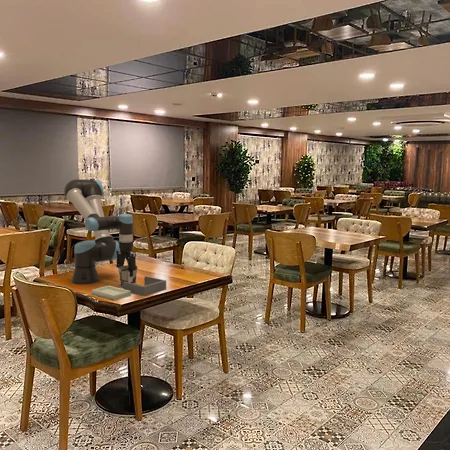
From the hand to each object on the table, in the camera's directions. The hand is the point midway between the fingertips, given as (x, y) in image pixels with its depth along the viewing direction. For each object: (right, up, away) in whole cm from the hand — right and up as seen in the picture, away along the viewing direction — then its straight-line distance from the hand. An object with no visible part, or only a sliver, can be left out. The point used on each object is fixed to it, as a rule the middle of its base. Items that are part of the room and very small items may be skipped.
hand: (126, 281), depth 251 cm
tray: (-4, -5, -19) cm, 20 cm away
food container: (0, -2, 0) cm, 2 cm away
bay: (+12, -4, -8) cm, 15 cm away
